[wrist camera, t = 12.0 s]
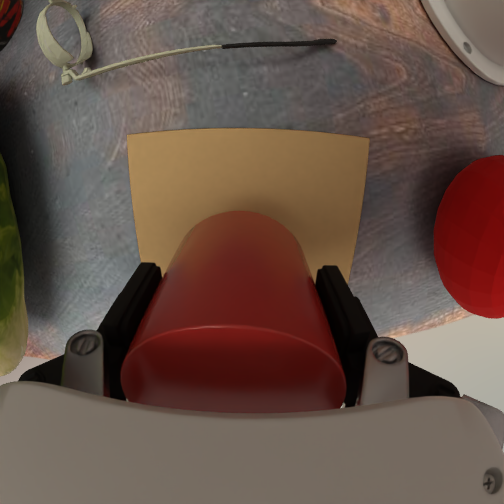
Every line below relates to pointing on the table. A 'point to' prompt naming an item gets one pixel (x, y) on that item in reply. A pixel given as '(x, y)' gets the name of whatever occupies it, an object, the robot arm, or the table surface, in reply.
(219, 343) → the can
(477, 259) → the tomato
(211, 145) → the mat
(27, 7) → the table surface
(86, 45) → the sunglasses
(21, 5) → the deodorant
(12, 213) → the lettuce
